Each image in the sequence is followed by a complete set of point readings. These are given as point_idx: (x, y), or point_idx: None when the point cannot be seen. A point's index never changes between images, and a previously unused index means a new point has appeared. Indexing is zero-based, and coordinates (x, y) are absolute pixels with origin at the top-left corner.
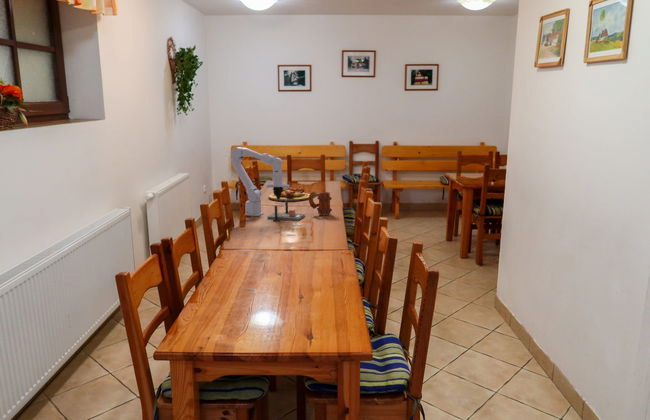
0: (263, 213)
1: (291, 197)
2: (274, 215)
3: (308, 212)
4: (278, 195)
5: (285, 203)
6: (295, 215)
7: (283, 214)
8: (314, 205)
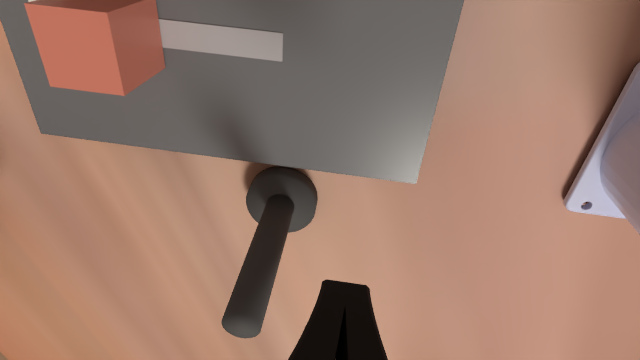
0: (564, 199)
1: None
2: (381, 2)
3: (126, 269)
4: (313, 347)
5: (263, 280)
6: None
7: (271, 86)
8: None
